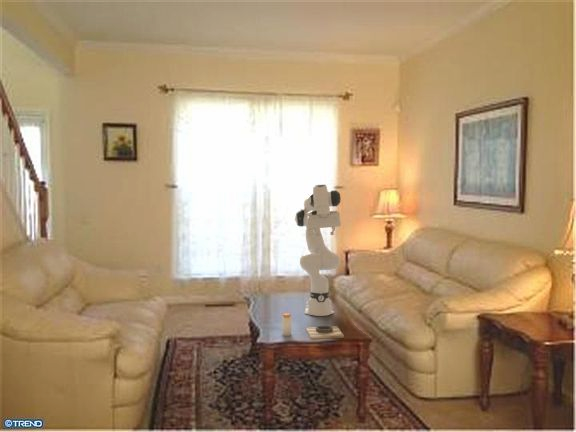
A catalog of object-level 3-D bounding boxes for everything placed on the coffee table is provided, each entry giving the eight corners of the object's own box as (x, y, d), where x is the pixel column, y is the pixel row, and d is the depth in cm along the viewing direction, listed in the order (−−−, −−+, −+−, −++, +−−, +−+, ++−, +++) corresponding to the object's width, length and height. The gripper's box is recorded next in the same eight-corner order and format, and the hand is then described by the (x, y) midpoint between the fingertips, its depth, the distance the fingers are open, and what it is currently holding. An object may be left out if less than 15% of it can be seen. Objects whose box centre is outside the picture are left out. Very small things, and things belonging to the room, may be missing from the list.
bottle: (281, 333, 292) (281, 313, 291) (290, 333, 293) (290, 313, 292) (282, 335, 287) (282, 315, 287) (291, 335, 288) (291, 315, 287)
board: (305, 329, 300) (305, 323, 300) (336, 328, 302) (337, 323, 302) (310, 338, 282) (310, 332, 282) (343, 337, 284) (343, 331, 284)
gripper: (337, 211, 310) (339, 234, 310) (304, 213, 306) (306, 237, 305) (341, 210, 304) (343, 234, 303) (307, 212, 299) (309, 236, 299)
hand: (324, 235), depth 304 cm, fingers open, 8 cm apart
